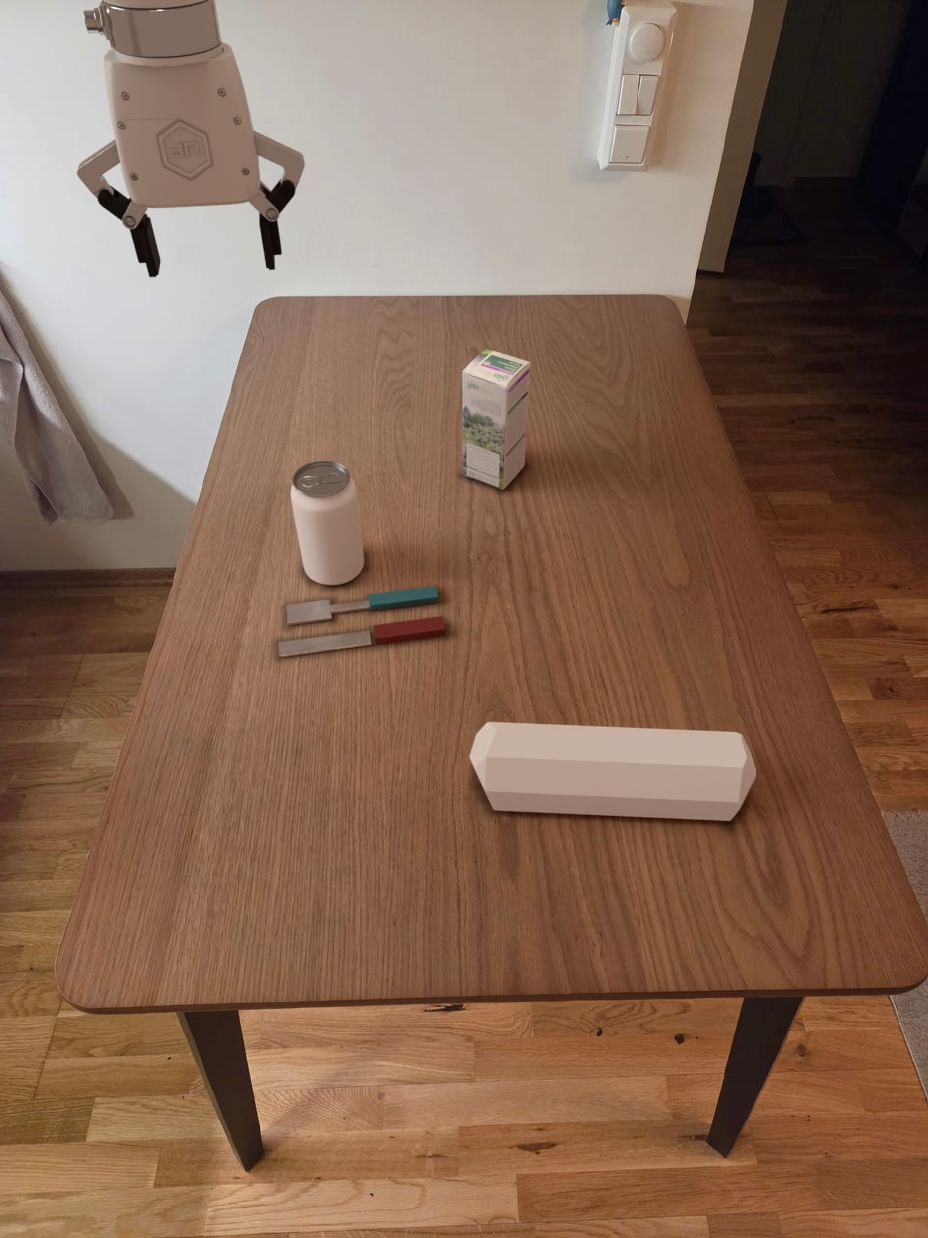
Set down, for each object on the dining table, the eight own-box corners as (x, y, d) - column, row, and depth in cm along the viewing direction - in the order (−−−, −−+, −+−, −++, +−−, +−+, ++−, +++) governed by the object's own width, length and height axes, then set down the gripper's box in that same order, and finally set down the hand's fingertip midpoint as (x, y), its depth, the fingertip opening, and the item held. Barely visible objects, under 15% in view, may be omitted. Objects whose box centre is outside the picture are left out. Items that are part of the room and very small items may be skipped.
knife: (279, 657, 84) (278, 651, 83) (278, 644, 85) (277, 637, 84) (445, 635, 86) (445, 629, 85) (442, 622, 87) (442, 615, 86)
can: (299, 552, 94) (282, 463, 85) (357, 540, 95) (346, 452, 86) (310, 593, 90) (293, 504, 81) (370, 580, 91) (361, 491, 82)
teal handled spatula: (288, 625, 86) (286, 619, 86) (287, 607, 88) (285, 601, 88) (439, 606, 88) (439, 600, 88) (435, 588, 90) (435, 582, 89)
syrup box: (525, 466, 104) (533, 358, 93) (502, 493, 101) (507, 384, 90) (485, 451, 106) (487, 344, 95) (460, 477, 103) (460, 369, 92)
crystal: (747, 708, 75) (472, 697, 76) (772, 744, 68) (469, 731, 69) (736, 784, 77) (469, 772, 78) (759, 826, 70) (466, 813, 71)
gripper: (27, 46, 57) (103, 293, 70) (290, 38, 59) (318, 280, 72) (45, 18, 62) (113, 253, 75) (287, 11, 64) (313, 241, 77)
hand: (213, 266), depth 73 cm, fingers open, 9 cm apart
